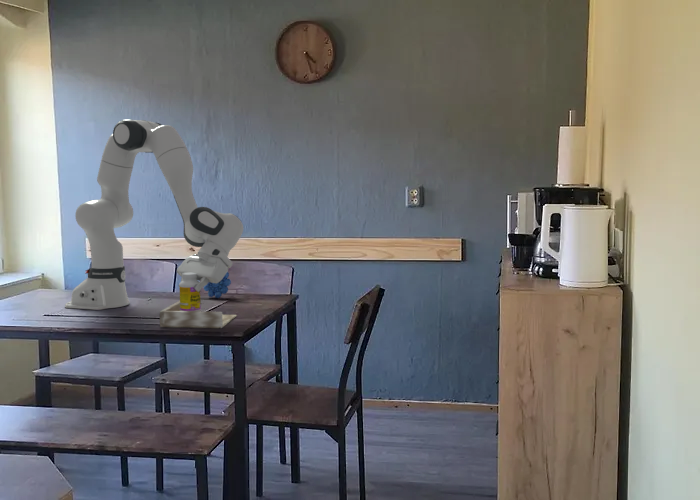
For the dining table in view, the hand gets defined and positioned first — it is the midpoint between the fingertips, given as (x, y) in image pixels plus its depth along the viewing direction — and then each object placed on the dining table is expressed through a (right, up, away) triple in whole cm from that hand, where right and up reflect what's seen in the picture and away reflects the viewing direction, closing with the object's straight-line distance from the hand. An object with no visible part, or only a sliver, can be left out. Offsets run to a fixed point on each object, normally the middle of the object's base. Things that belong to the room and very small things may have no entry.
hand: (188, 289), depth 235 cm
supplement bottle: (+1, -8, +1) cm, 8 cm away
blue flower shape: (+2, -6, +45) cm, 46 cm away
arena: (+3, -11, +3) cm, 12 cm away
